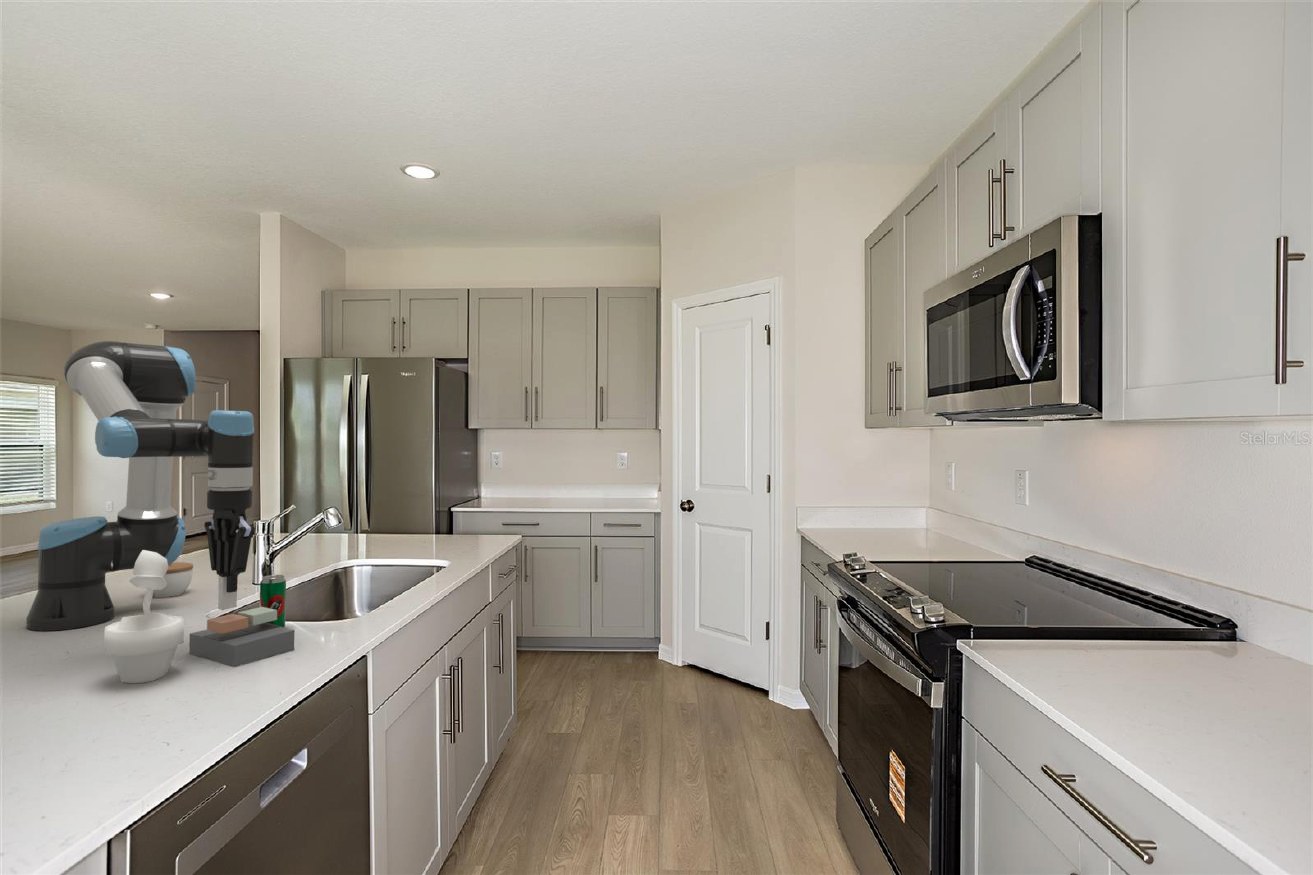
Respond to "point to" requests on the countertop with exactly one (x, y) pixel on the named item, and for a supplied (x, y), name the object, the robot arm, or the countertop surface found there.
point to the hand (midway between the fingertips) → (227, 607)
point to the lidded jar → (176, 579)
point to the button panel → (242, 644)
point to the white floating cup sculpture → (145, 628)
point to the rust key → (227, 623)
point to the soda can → (274, 596)
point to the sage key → (259, 615)
